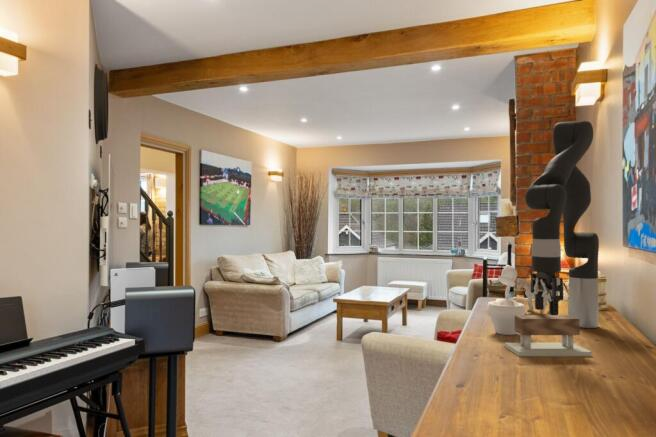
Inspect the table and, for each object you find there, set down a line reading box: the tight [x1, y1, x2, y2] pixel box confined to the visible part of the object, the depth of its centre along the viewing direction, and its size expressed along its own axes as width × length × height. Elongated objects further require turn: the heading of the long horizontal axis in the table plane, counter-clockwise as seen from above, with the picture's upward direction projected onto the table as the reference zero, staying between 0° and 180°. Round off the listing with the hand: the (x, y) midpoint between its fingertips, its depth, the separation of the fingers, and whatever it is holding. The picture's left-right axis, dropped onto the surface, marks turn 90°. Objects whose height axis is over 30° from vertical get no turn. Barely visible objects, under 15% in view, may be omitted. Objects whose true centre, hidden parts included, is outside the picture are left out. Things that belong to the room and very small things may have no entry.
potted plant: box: [486, 261, 526, 336], centre depth 154 cm, size 13×12×25 cm
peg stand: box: [503, 334, 593, 357], centre depth 132 cm, size 10×20×5 cm, turn 91°
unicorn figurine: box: [514, 278, 559, 315], centre depth 193 cm, size 7×20×13 cm, turn 51°
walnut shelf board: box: [515, 314, 581, 336], centre depth 132 cm, size 16×5×4 cm, turn 91°
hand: (546, 312), depth 132 cm, fingers open, 8 cm apart
